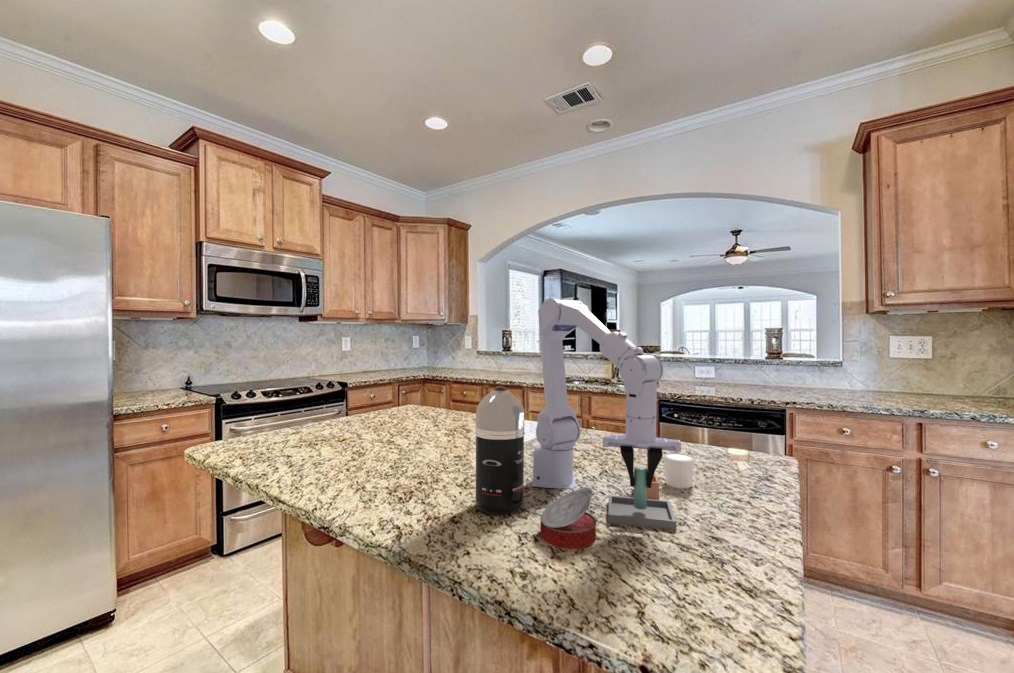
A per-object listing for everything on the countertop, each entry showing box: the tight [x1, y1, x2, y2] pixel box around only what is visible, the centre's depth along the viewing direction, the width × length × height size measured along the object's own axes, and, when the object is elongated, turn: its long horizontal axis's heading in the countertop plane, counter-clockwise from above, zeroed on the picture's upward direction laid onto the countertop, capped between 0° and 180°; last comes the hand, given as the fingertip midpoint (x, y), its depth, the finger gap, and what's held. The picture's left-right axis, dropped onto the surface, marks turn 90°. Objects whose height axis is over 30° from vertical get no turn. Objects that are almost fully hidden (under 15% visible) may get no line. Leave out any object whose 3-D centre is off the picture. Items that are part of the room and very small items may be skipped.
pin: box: [633, 466, 647, 509], centre depth 84 cm, size 2×2×8 cm
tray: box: [607, 495, 677, 531], centre depth 84 cm, size 12×10×2 cm
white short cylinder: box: [663, 452, 695, 489], centre depth 102 cm, size 7×7×7 cm
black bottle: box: [474, 385, 526, 516], centre depth 89 cm, size 10×10×25 cm
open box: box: [647, 475, 660, 500], centre depth 96 cm, size 5×5×4 cm
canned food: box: [539, 487, 597, 550], centre depth 77 cm, size 11×10×10 cm
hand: (640, 485), depth 84 cm, fingers open, 2 cm apart
